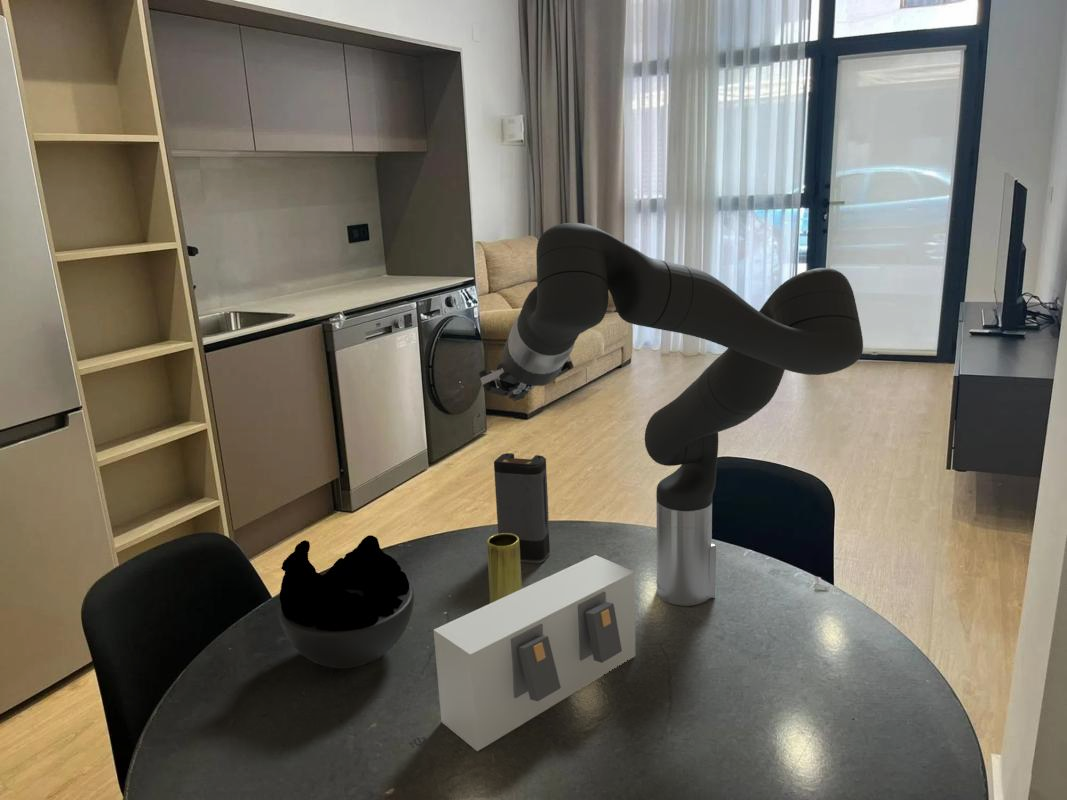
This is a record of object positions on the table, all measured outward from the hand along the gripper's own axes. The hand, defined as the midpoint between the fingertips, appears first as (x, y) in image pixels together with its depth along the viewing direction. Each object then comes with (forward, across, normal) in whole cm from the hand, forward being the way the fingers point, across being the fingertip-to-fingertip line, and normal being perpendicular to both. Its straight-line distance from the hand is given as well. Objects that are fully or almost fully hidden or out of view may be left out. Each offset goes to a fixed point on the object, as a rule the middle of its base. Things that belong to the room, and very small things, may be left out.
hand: (515, 393), depth 109 cm
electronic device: (+51, -5, +17) cm, 54 cm away
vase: (+33, +5, +28) cm, 44 cm away
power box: (+16, +6, +38) cm, 42 cm away
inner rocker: (+10, -3, +37) cm, 39 cm away
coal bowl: (+30, +30, +26) cm, 50 cm away
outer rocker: (+5, +8, +39) cm, 40 cm away
